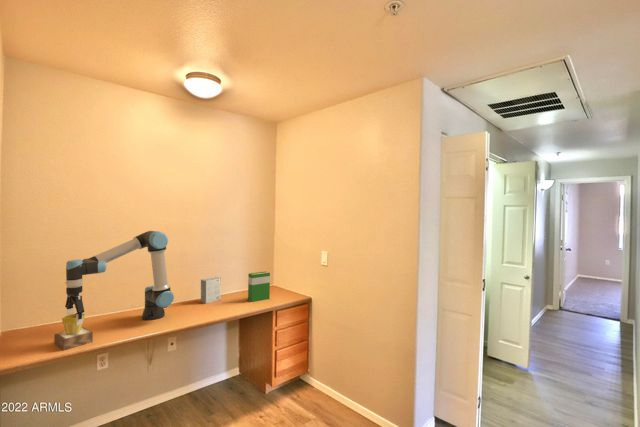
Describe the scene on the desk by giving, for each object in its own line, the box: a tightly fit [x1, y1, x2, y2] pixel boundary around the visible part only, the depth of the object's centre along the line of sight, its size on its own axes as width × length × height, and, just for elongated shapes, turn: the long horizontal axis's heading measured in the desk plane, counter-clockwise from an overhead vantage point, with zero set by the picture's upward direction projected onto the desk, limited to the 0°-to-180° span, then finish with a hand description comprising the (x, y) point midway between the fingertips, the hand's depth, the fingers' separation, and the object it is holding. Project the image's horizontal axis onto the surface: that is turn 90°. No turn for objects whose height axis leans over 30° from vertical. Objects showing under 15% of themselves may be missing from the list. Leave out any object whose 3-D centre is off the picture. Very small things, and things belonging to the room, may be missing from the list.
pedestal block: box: [53, 326, 94, 351], centre depth 184 cm, size 14×14×6 cm
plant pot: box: [61, 313, 86, 334], centre depth 184 cm, size 10×10×10 cm
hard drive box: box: [200, 276, 222, 305], centre depth 274 cm, size 16×8×20 cm, turn 144°
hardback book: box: [247, 271, 271, 303], centre depth 281 cm, size 18×7×24 cm, turn 129°
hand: (74, 322), depth 184 cm, fingers open, 13 cm apart
